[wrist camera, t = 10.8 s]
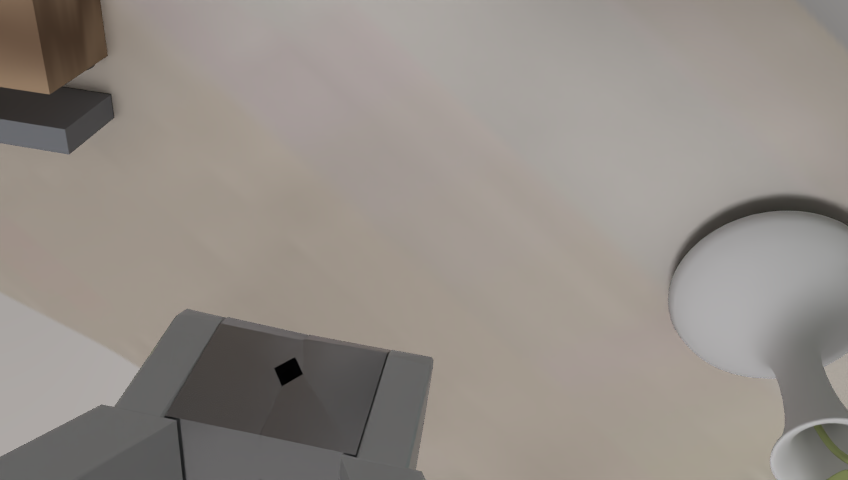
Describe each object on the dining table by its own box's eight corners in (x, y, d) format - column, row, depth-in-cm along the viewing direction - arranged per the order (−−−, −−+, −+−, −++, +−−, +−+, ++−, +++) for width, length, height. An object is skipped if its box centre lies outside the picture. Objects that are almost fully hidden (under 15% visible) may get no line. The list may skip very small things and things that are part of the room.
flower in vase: (755, 383, 50) (886, 842, 29) (624, 283, 47) (665, 706, 27) (945, 259, 43) (1293, 738, 22) (805, 135, 41) (1049, 543, 20)
